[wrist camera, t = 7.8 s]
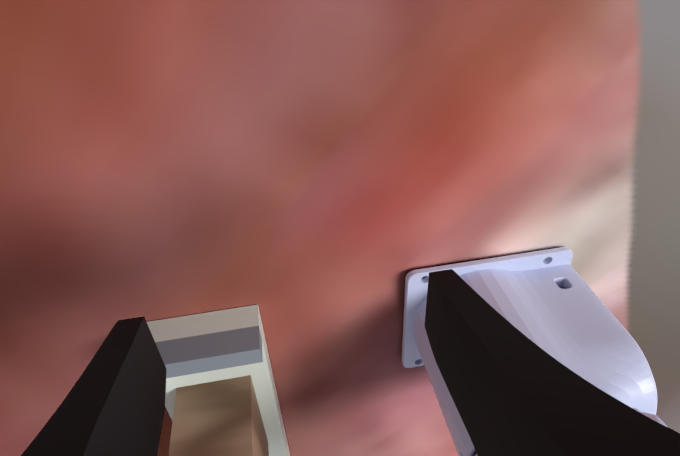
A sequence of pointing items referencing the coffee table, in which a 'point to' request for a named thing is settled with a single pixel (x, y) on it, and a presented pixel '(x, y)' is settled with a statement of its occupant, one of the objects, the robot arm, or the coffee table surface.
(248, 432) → the tan cardboard box
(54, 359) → the coffee table surface
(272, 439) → the rail
